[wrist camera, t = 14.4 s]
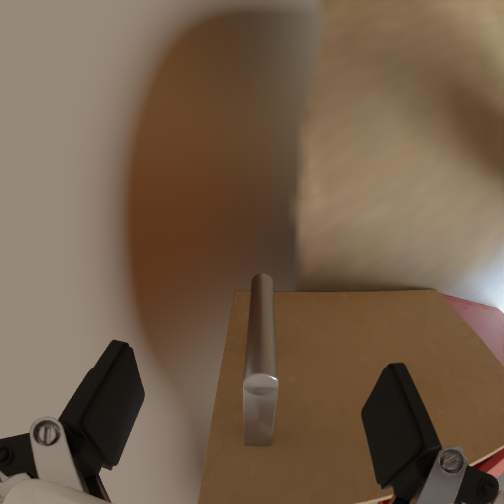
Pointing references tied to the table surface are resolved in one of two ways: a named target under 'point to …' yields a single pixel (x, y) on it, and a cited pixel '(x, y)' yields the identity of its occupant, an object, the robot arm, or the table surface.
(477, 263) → the table surface
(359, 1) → the table surface
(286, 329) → the door
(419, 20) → the table surface
